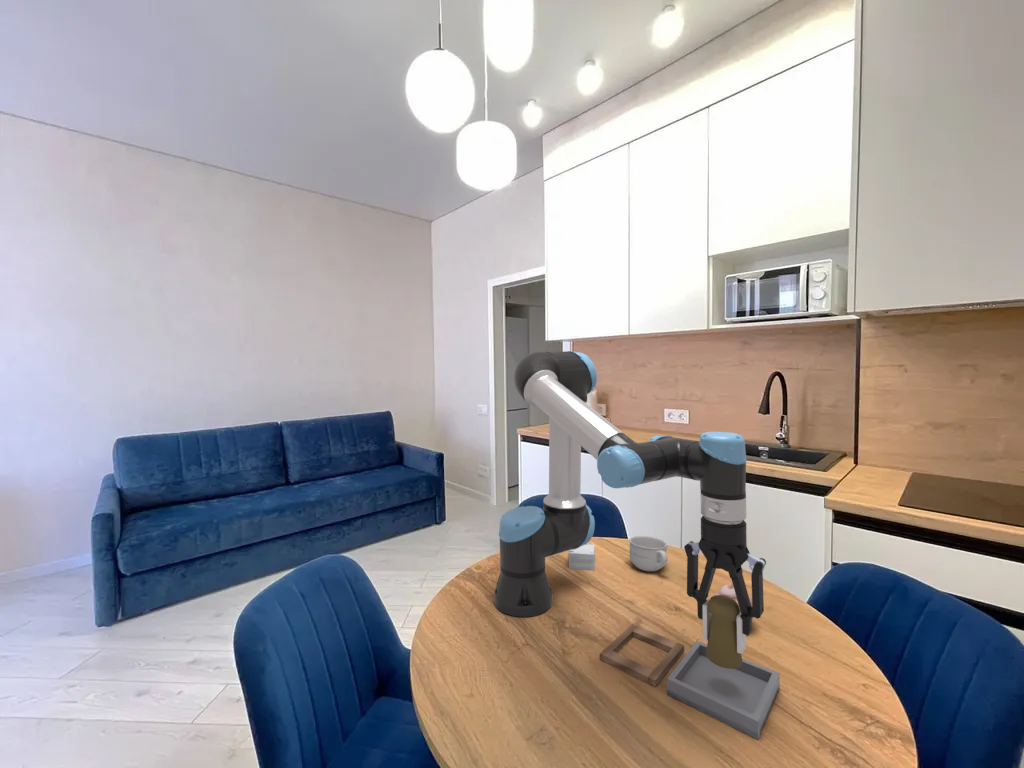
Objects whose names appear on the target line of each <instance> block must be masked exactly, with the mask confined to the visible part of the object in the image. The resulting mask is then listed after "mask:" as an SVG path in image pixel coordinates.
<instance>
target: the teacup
mask: <svg viewBox="0 0 1024 768" xmlns="http://www.w3.org/2000/svg"><path fill="white" fill-rule="evenodd" d="M628 542H629V559H630V561H631V563H632V564H633V565H634V567H636V569H639V570H641V571H645V572H650V573H651V572H657V571H659V570H660V569H663V568H664V567H665V566H666V565H667V563H668V556H667V555H668V554H667V547H668V544H667V542H666V541H665V540H663V539H661V538H658V537H654V536H648V535H636V536H631V537H630V538H629V541H628Z"/></svg>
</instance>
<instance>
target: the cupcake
mask: <svg viewBox="0 0 1024 768" xmlns="http://www.w3.org/2000/svg"><path fill="white" fill-rule="evenodd" d="M715 595H724V596H728V597H730V598H732V599H734V600H735V601H736V602H737V604H738V601H737V597H736V593H735V590H734V586H733V583H732V582H731V583H730V584H724V585H723V586H721V588H720V589H719V590H717V591H716V592H715ZM748 596H749V599H750V603H751V606H752V596H750V594H748ZM738 606H739V604H738ZM739 610H740V608H739ZM753 618H754V617H752V620H753ZM736 621H737V620H736Z"/></svg>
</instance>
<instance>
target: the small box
mask: <svg viewBox="0 0 1024 768" xmlns="http://www.w3.org/2000/svg"><path fill="white" fill-rule="evenodd" d="M595 549H596V548H595V544H592V543H591V544H590V543H589V544H588V543H587V544H585V545H583V546H580V547H579V548H577V549H574V550H572V549H571V550H568V569H569V570H584V571H595V568H596V567H595V566H596V550H595Z"/></svg>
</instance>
